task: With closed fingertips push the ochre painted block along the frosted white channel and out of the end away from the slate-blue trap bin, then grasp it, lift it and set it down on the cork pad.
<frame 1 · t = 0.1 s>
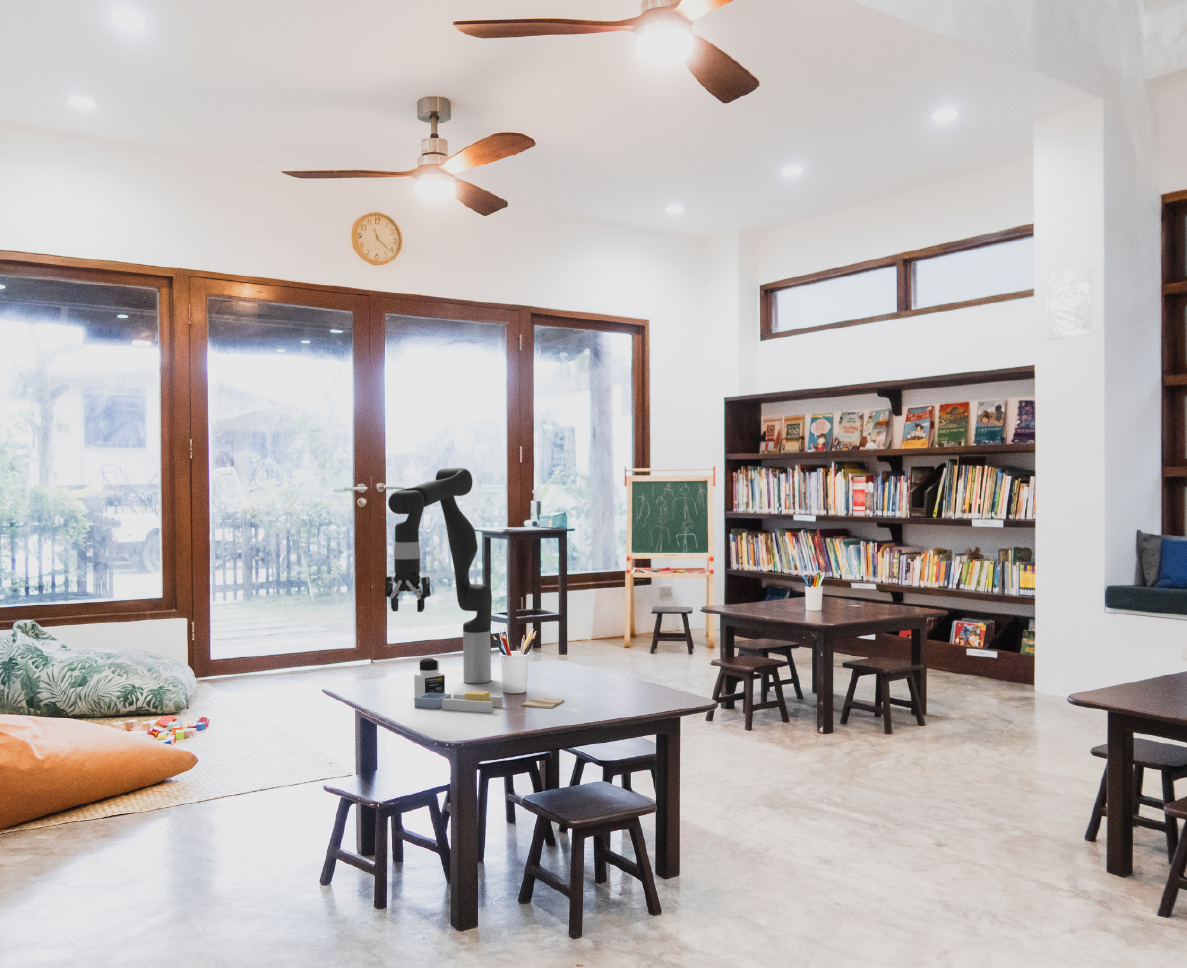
hand: (407, 611, 280), 29 cm above the table, fingers open, 8 cm apart
trap bin: (433, 705, 284), on the table
frosted channel: (472, 708, 280), on the table
cork pad: (542, 704, 284), on the table
ochre block: (477, 708, 279), on the table
medicine bottle: (429, 697, 297), on the table
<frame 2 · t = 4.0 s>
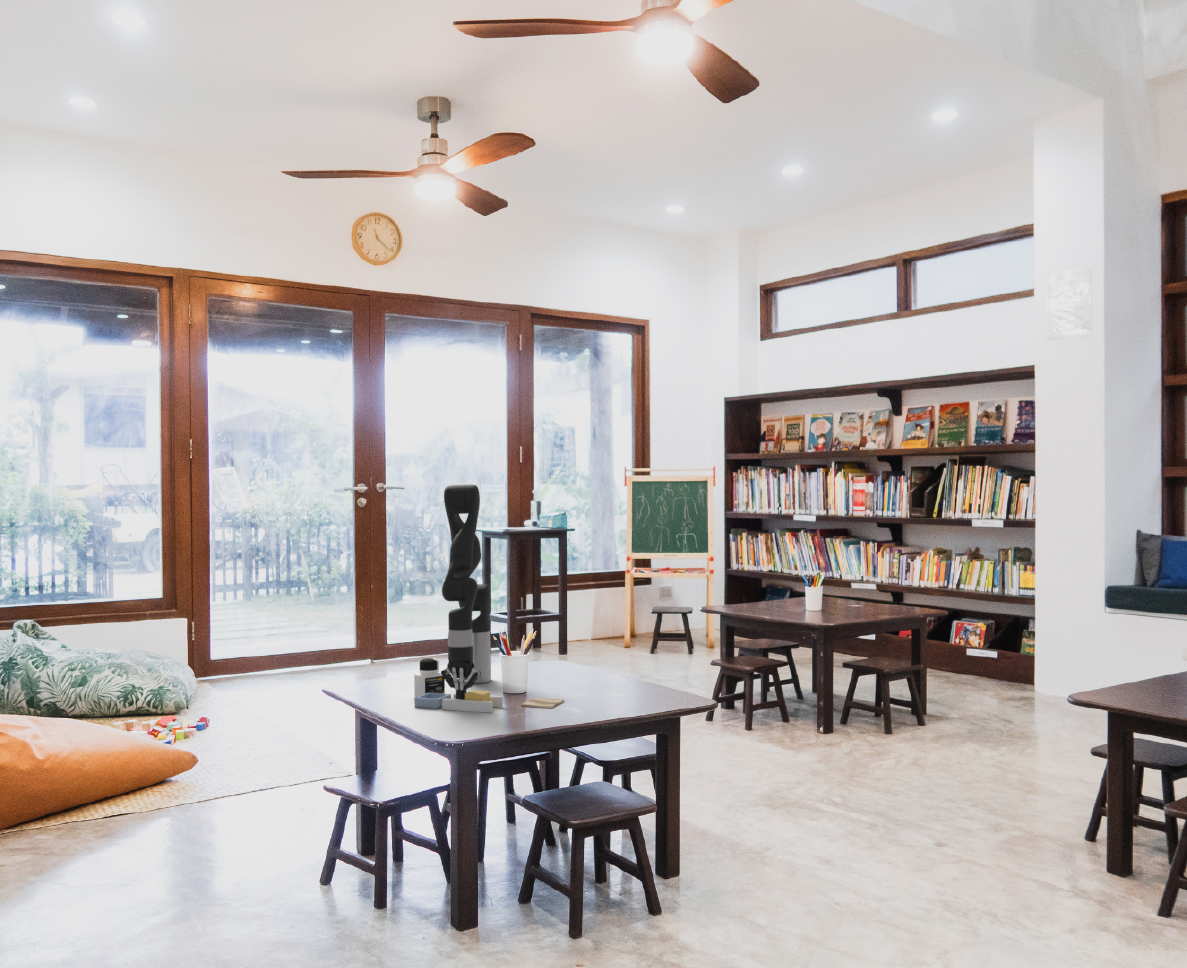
hand: (461, 702, 281), 2 cm above the table, fingers closed
ochre block: (477, 708, 279), on the table, touching gripper
everything else where it was.
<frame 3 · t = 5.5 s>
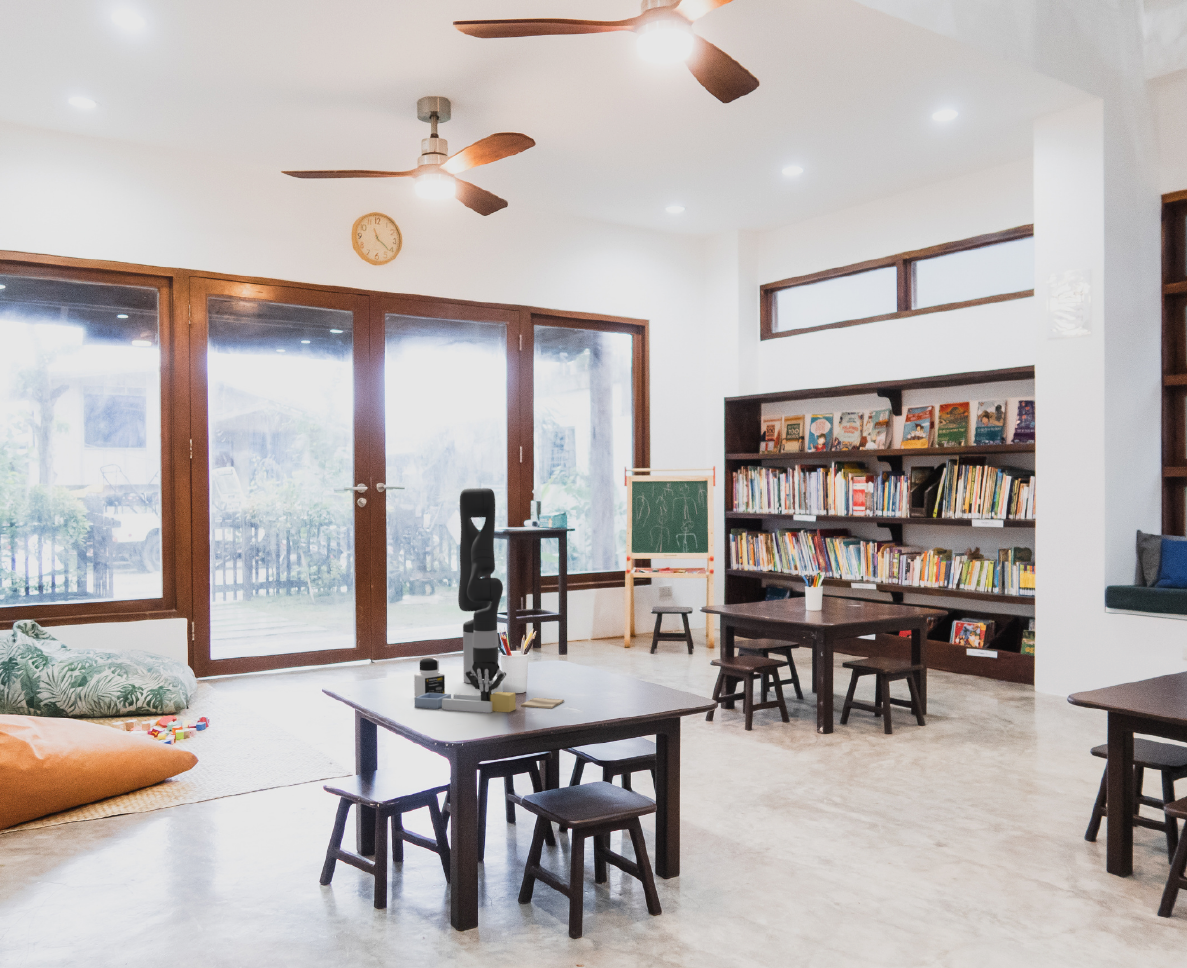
hand: (486, 703, 278), 2 cm above the table, fingers closed
ochre block: (503, 710, 276), on the table, touching gripper
everything else where it was.
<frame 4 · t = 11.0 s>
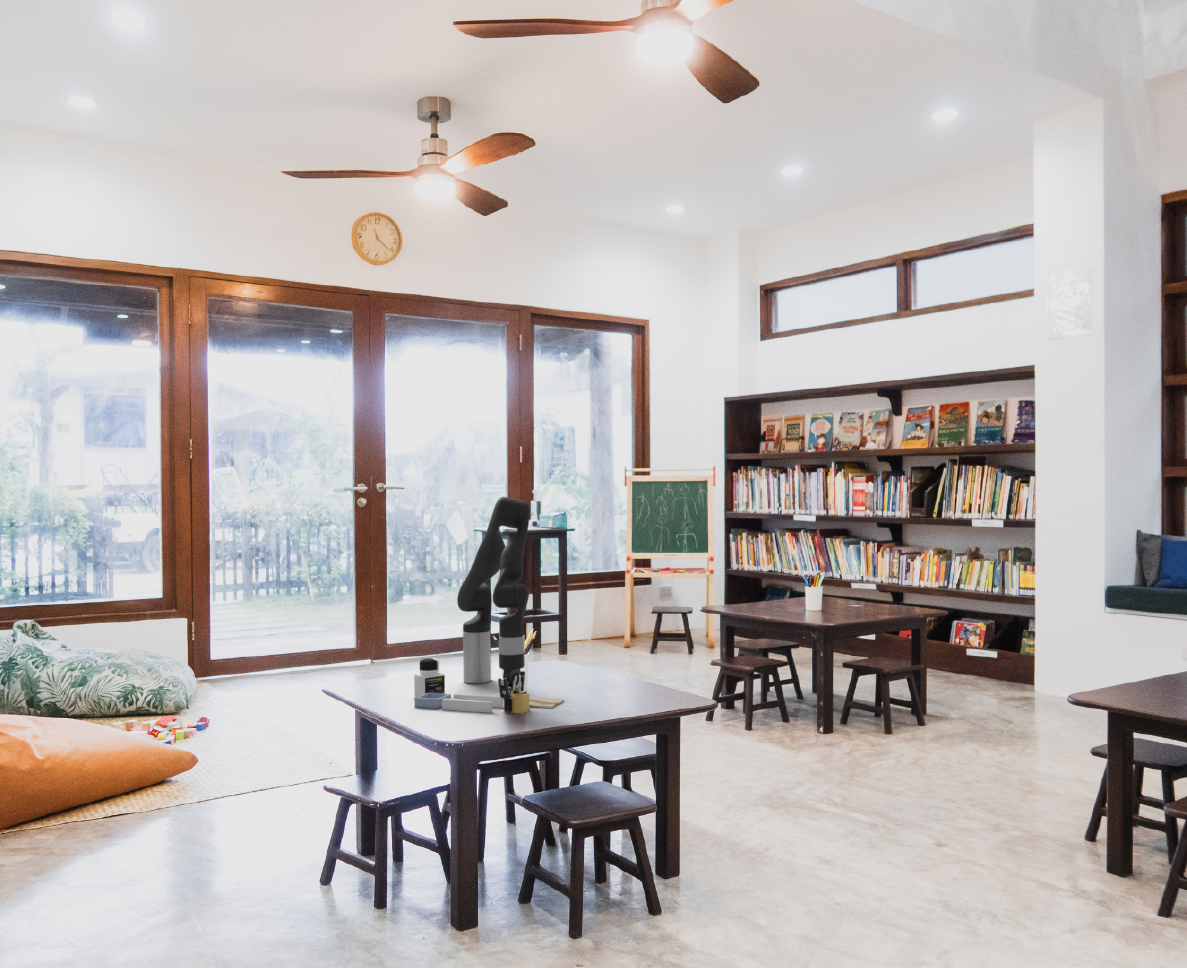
hand: (512, 709, 275), 0 cm above the table, fingers open, 5 cm apart
ochre block: (516, 711, 275), on the table, touching gripper
everything else where it was.
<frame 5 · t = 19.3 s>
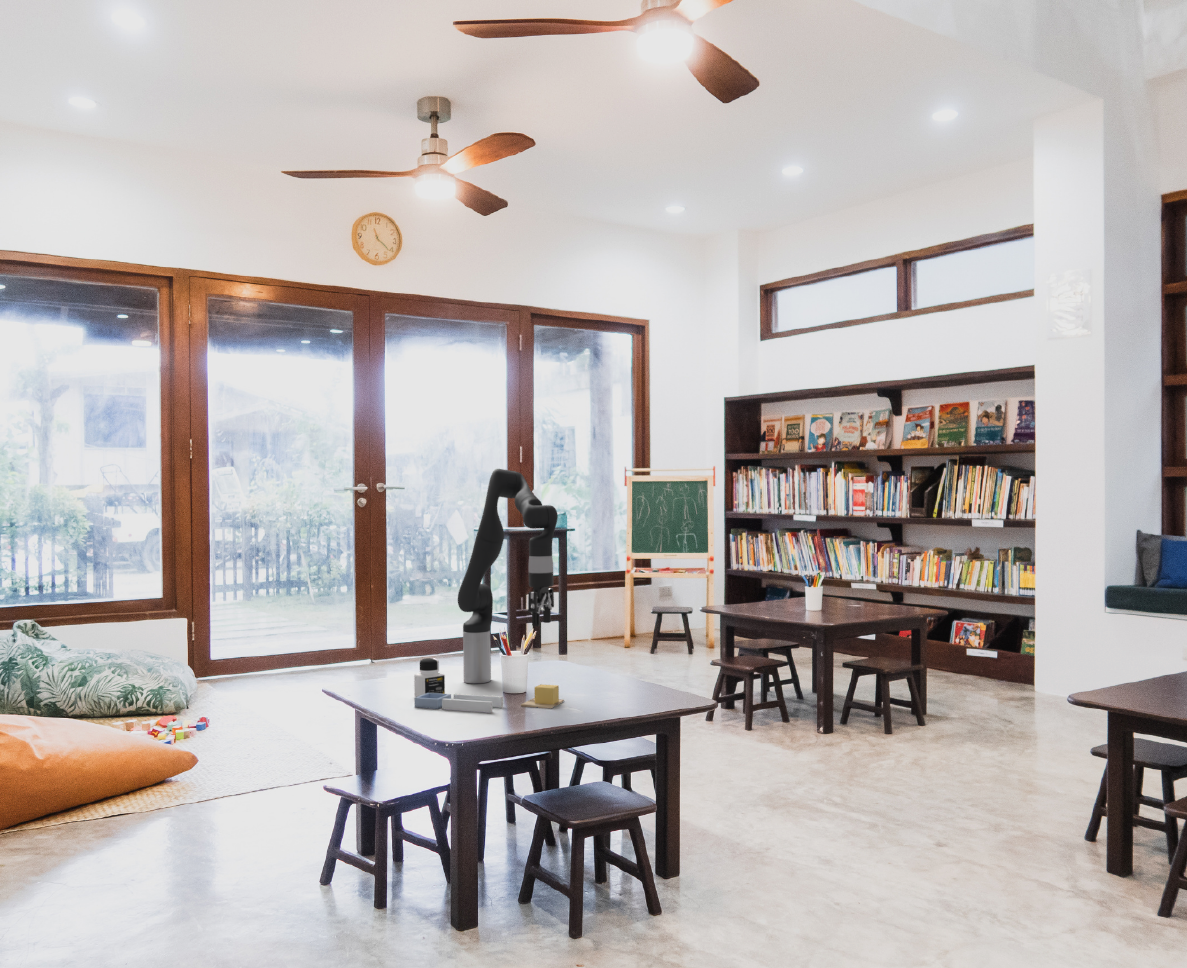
hand: (541, 624, 284), 24 cm above the table, fingers open, 8 cm apart
ochre block: (546, 702, 284), point 1 cm above the table, touching cork pad
everything else where it was.
at the end: ochre block inside the target area on the cork pad (1.3 cm from its centre), point 0.6 cm above the cork pad's base; ochre block tilted 0°; the gripper is holding nothing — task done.
